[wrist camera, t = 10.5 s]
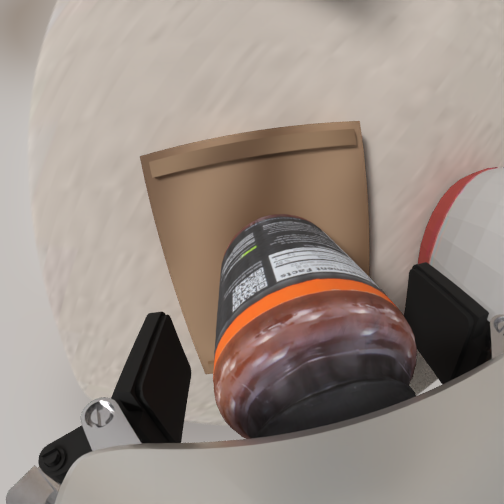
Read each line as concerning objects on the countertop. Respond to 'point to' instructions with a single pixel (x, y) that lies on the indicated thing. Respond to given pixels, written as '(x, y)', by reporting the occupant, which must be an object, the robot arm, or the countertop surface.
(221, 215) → the board
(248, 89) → the countertop surface
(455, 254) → the citrus juicer
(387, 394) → the supplement bottle
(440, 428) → the robot arm
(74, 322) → the countertop surface
